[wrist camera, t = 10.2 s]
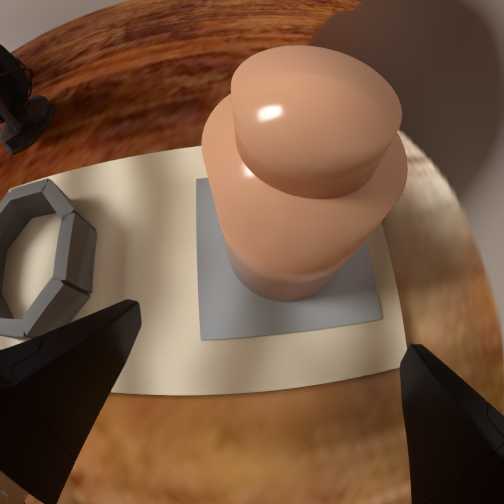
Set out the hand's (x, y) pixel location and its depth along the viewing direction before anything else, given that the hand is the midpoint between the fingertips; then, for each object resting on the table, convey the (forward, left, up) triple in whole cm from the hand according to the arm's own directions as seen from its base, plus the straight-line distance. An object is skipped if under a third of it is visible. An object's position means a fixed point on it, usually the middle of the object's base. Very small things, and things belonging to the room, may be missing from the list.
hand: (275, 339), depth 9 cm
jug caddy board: (+3, +9, -8) cm, 12 cm away
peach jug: (+7, +1, -6) cm, 10 cm away
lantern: (+14, +32, -8) cm, 36 cm away
